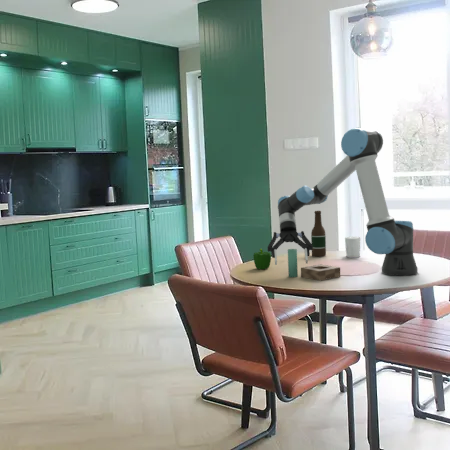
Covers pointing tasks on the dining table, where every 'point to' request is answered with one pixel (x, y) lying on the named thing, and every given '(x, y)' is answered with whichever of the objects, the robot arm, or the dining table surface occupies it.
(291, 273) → the peg
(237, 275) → the dining table surface
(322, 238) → the beer bottle
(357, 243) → the white cup
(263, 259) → the bell pepper
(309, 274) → the socket block
